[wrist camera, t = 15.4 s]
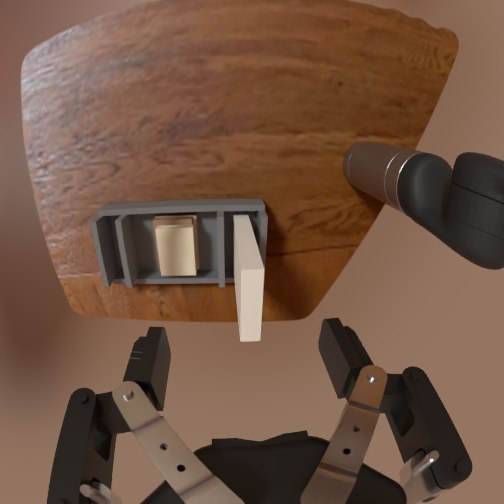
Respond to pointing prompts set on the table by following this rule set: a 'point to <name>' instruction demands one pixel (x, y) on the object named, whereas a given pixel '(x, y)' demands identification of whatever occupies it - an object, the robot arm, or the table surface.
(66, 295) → the table surface
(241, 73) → the table surface
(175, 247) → the offcuts
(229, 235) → the rack
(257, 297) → the white rectangular board
